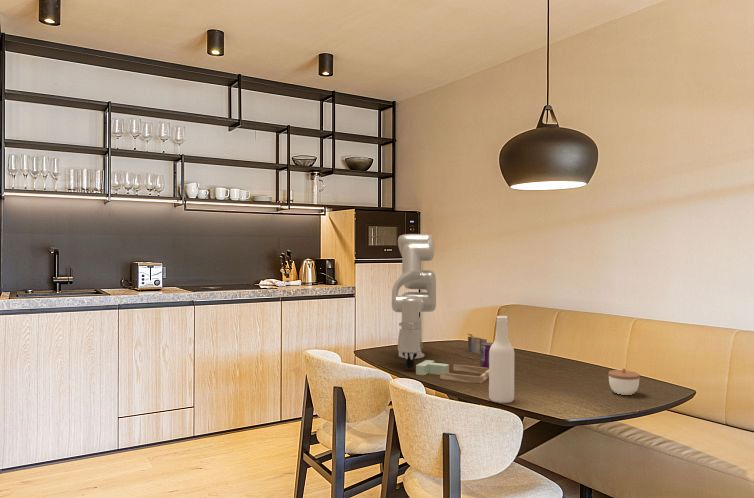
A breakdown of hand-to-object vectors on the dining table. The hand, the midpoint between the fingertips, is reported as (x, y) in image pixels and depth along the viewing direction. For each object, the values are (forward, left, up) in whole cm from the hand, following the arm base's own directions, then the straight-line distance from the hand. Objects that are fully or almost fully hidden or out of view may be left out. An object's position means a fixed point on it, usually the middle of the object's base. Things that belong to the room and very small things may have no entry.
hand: (410, 367), depth 251 cm
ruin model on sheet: (-53, +15, -2) cm, 55 cm away
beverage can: (-14, +31, -1) cm, 34 cm away
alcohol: (+29, +47, -1) cm, 55 cm away
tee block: (0, +11, -1) cm, 11 cm away
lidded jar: (0, +86, -1) cm, 86 cm away
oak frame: (0, +25, -1) cm, 25 cm away
